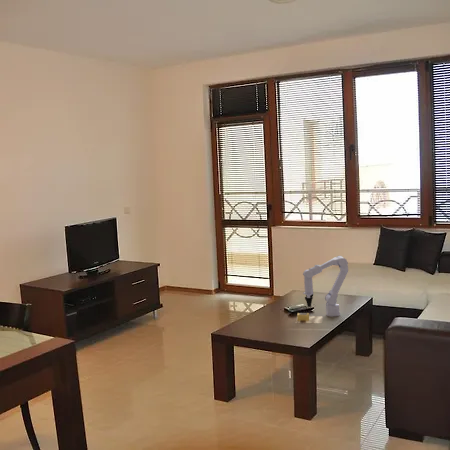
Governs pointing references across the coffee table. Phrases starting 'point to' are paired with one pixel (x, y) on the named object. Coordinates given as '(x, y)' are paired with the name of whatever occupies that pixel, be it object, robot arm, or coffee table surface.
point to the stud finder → (303, 317)
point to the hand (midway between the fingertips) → (309, 305)
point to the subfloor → (311, 320)
